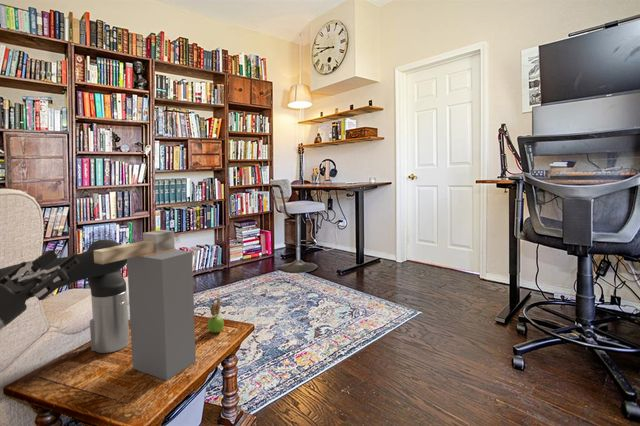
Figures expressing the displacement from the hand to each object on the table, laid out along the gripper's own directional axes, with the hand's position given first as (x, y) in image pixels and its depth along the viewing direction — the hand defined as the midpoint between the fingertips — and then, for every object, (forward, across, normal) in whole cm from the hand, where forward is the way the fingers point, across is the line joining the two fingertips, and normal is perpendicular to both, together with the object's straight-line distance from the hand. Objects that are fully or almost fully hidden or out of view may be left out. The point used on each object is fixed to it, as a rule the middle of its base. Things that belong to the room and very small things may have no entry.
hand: (65, 255), depth 74 cm
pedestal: (+1, -2, +42) cm, 42 cm away
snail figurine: (+21, -1, +53) cm, 57 cm away
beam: (+13, 0, +11) cm, 17 cm away
